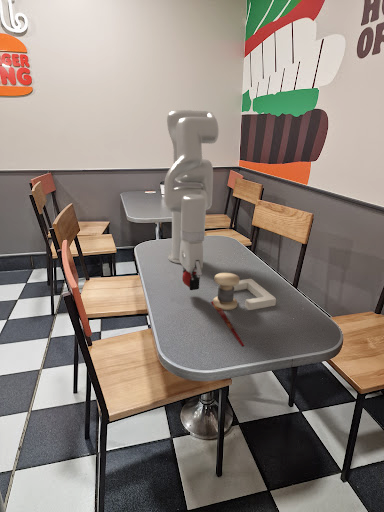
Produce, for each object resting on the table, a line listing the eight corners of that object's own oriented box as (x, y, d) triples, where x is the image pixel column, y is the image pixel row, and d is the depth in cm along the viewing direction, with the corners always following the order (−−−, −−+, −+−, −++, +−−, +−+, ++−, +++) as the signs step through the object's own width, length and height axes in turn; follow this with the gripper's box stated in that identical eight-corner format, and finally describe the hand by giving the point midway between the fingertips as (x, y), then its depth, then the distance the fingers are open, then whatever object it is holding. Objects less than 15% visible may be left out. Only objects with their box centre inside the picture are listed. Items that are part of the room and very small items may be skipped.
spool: (209, 299, 107) (210, 274, 103) (230, 296, 110) (232, 271, 106) (219, 311, 100) (221, 284, 96) (241, 307, 103) (244, 281, 99)
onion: (182, 282, 110) (183, 262, 107) (199, 283, 110) (200, 262, 107) (181, 291, 105) (182, 269, 102) (199, 292, 105) (200, 270, 102)
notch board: (226, 288, 115) (227, 282, 114) (250, 284, 119) (251, 278, 118) (248, 310, 101) (249, 303, 100) (275, 305, 105) (276, 298, 104)
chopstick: (240, 348, 84) (241, 345, 84) (211, 303, 106) (211, 301, 105) (247, 346, 85) (248, 344, 84) (216, 303, 106) (216, 300, 106)
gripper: (173, 226, 106) (172, 274, 113) (190, 245, 91) (188, 299, 99) (194, 225, 108) (192, 272, 116) (214, 243, 94) (211, 295, 101)
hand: (190, 284), depth 107 cm, fingers closed on onion, 5 cm apart
